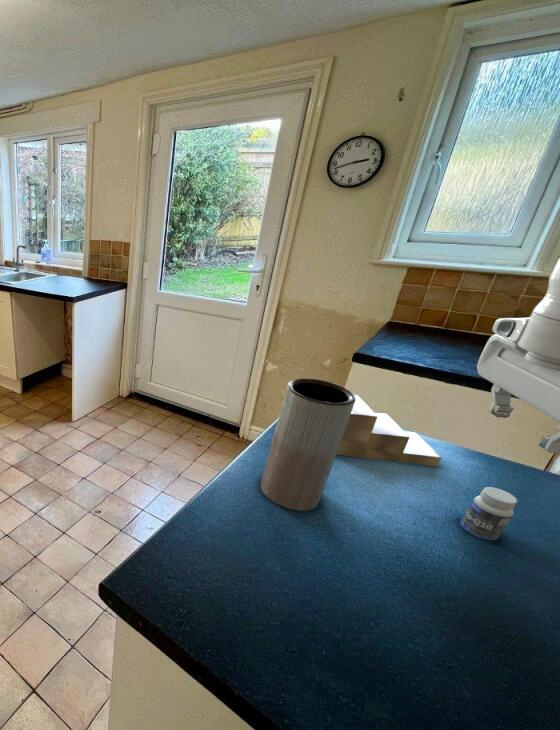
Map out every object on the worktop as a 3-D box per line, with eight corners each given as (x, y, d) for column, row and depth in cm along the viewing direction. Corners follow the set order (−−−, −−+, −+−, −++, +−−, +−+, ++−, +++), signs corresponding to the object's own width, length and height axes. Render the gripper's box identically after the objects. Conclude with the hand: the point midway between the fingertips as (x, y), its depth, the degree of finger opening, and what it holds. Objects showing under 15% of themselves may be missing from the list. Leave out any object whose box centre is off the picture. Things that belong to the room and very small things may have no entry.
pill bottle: (452, 526, 73) (473, 488, 69) (470, 520, 74) (491, 482, 70) (484, 546, 68) (508, 507, 65) (503, 539, 70) (528, 501, 66)
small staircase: (410, 443, 96) (429, 401, 91) (436, 469, 87) (458, 424, 82) (310, 432, 100) (323, 391, 96) (325, 455, 92) (340, 412, 87)
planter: (308, 483, 83) (342, 381, 73) (325, 517, 74) (367, 407, 65) (255, 475, 85) (281, 375, 76) (265, 508, 77) (296, 400, 67)
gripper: (697, 373, 43) (622, 479, 49) (538, 318, 61) (497, 401, 67) (621, 369, 45) (556, 473, 51) (487, 316, 63) (451, 397, 68)
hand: (522, 431), depth 59 cm, fingers open, 8 cm apart
